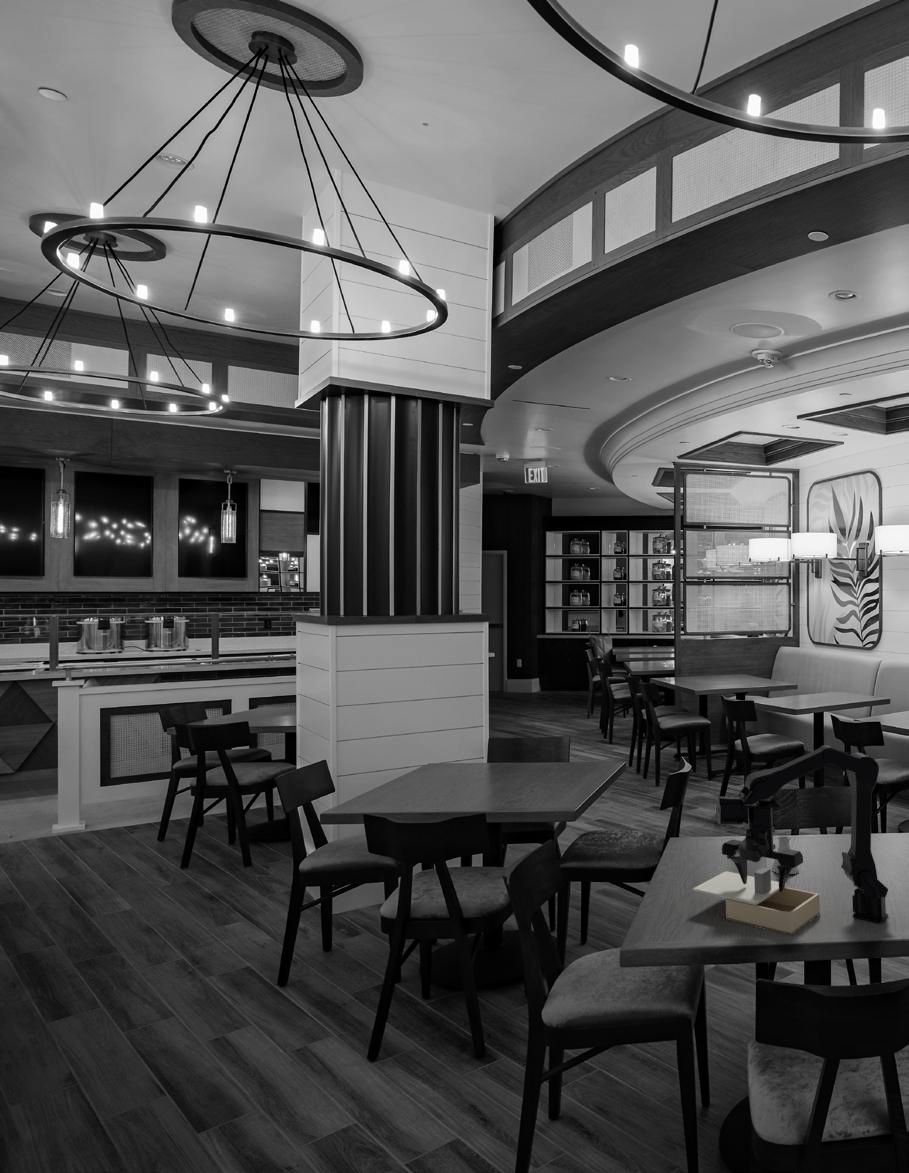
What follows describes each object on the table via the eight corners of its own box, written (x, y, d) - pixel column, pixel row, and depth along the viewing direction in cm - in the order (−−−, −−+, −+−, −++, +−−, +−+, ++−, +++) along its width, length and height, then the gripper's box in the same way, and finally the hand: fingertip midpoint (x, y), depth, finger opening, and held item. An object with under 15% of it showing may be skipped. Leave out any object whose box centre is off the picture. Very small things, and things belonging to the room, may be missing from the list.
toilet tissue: (726, 883, 235) (725, 846, 236) (728, 870, 247) (727, 835, 247) (767, 886, 232) (765, 849, 232) (767, 873, 243) (765, 838, 243)
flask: (785, 877, 239) (783, 841, 239) (766, 870, 246) (765, 835, 246) (804, 873, 242) (802, 838, 242) (785, 867, 249) (784, 832, 249)
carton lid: (786, 885, 216) (785, 863, 216) (755, 905, 202) (755, 881, 202) (725, 873, 227) (725, 852, 227) (693, 890, 214) (692, 868, 214)
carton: (819, 914, 210) (819, 894, 210) (791, 935, 197) (790, 914, 197) (757, 900, 221) (756, 881, 221) (726, 919, 208) (725, 899, 208)
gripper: (710, 825, 212) (712, 888, 211) (784, 837, 199) (786, 904, 198) (730, 816, 220) (732, 877, 219) (802, 828, 207) (805, 892, 206)
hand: (762, 887), depth 211 cm, fingers open, 9 cm apart
